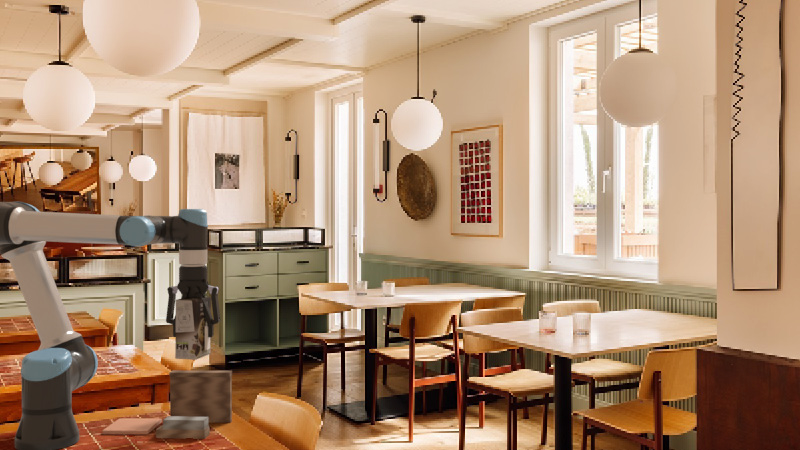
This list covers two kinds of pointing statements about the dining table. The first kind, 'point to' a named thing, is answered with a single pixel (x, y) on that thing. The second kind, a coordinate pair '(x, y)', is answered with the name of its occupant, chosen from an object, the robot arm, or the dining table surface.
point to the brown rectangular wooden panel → (201, 394)
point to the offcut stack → (183, 427)
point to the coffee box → (191, 328)
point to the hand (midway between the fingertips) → (193, 348)
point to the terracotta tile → (132, 426)
